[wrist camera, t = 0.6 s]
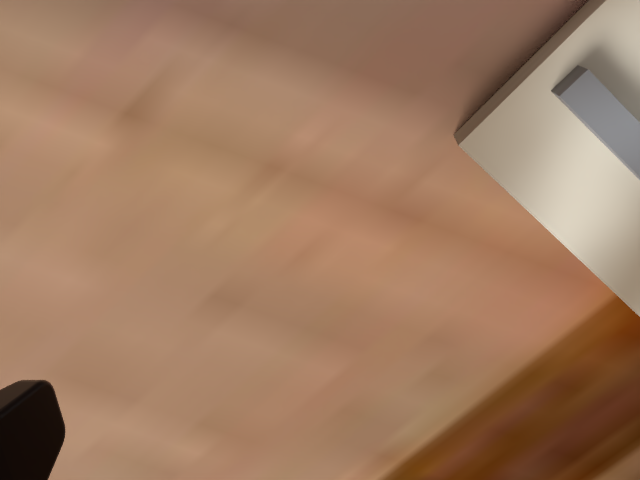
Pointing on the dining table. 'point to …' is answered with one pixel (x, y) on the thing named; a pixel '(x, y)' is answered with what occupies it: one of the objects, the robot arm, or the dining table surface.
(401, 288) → the dining table surface
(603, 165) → the nutcracker board
